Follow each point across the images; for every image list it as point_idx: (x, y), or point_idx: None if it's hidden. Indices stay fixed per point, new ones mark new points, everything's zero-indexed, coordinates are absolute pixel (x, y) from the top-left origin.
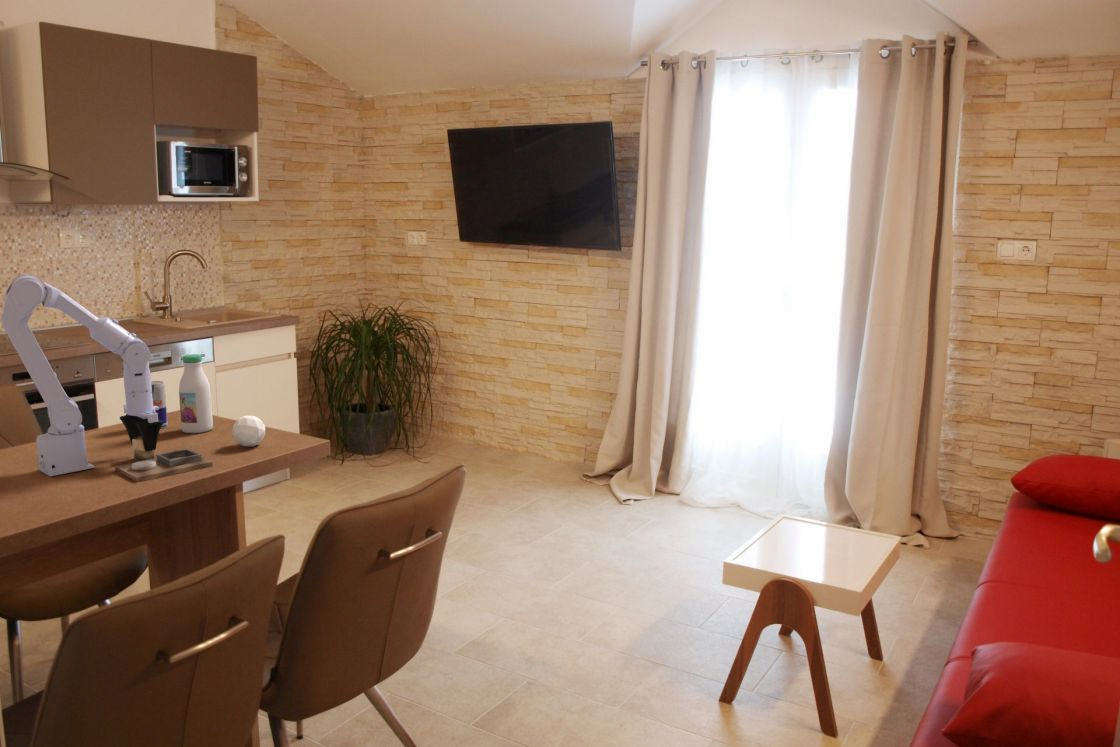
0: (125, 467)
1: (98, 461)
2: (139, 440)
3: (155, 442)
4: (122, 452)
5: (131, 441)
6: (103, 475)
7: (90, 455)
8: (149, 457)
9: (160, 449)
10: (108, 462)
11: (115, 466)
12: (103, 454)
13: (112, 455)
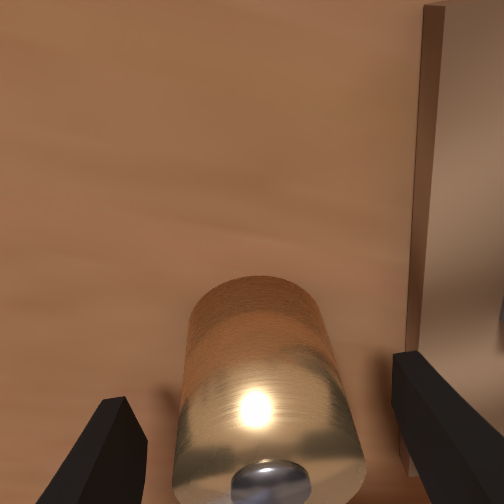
0: None
1: (162, 486)
2: (335, 501)
3: (460, 406)
4: (3, 399)
5: (141, 480)
6: None
7: (12, 501)
8: (323, 325)
9: (8, 187)
10: None
11: (412, 476)
12: (15, 465)
13: (61, 440)
